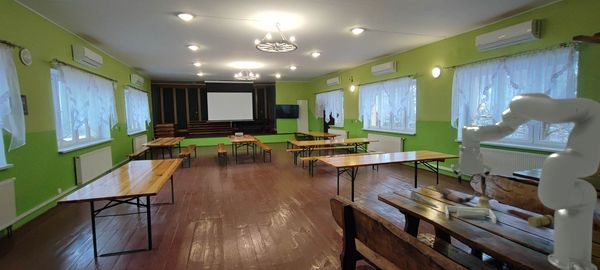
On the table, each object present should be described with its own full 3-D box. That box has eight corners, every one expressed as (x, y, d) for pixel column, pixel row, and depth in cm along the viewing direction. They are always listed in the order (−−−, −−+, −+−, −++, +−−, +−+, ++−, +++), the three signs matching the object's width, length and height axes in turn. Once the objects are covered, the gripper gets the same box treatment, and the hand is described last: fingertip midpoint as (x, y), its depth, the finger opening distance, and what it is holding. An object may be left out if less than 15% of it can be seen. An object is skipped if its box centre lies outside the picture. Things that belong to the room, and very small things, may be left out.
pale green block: (484, 219, 141) (484, 212, 140) (457, 217, 145) (457, 210, 145) (482, 216, 145) (482, 209, 145) (456, 214, 150) (456, 207, 150)
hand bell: (476, 209, 155) (476, 181, 154) (474, 204, 162) (474, 178, 161) (494, 210, 151) (494, 182, 150) (490, 205, 159) (490, 178, 158)
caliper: (410, 199, 178) (410, 189, 178) (412, 198, 179) (411, 189, 178) (437, 208, 159) (437, 198, 159) (438, 208, 160) (438, 197, 159)
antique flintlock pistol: (439, 194, 184) (439, 179, 183) (481, 208, 156) (481, 191, 155) (433, 195, 182) (433, 181, 181) (474, 209, 154) (474, 192, 153)
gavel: (498, 207, 148) (514, 205, 150) (499, 215, 148) (515, 213, 150) (536, 219, 128) (555, 216, 129) (537, 228, 128) (555, 226, 129)
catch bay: (496, 223, 135) (496, 217, 134) (447, 218, 143) (446, 213, 143) (490, 214, 146) (490, 208, 146) (445, 210, 155) (444, 205, 155)
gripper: (451, 151, 135) (452, 185, 137) (493, 151, 128) (493, 186, 129) (450, 149, 142) (450, 181, 143) (489, 149, 135) (490, 182, 136)
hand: (471, 183), depth 136 cm, fingers open, 9 cm apart
